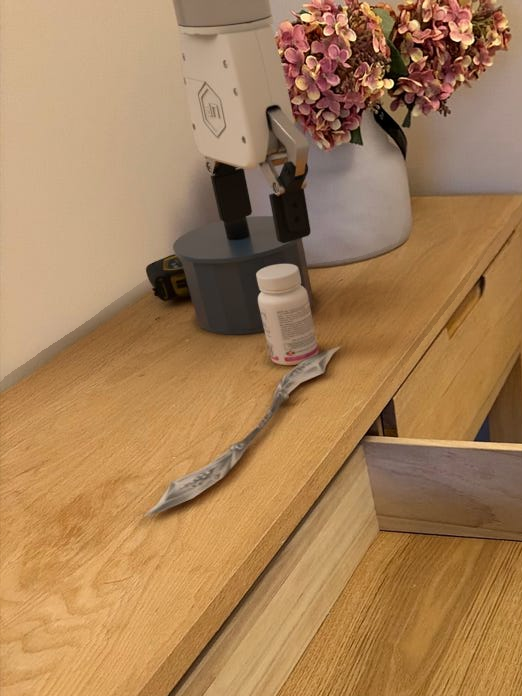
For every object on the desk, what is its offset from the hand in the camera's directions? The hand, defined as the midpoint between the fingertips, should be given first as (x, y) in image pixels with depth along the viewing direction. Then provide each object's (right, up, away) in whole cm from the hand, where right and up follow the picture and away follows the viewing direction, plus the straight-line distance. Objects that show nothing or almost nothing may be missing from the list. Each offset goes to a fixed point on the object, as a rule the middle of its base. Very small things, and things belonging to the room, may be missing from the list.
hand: (264, 228), depth 89 cm
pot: (-5, -1, +18) cm, 19 cm away
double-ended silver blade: (0, -19, -3) cm, 19 cm away
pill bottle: (+1, -10, +8) cm, 13 cm away
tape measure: (-15, +2, +24) cm, 29 cm away
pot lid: (-5, +4, +13) cm, 15 cm away
